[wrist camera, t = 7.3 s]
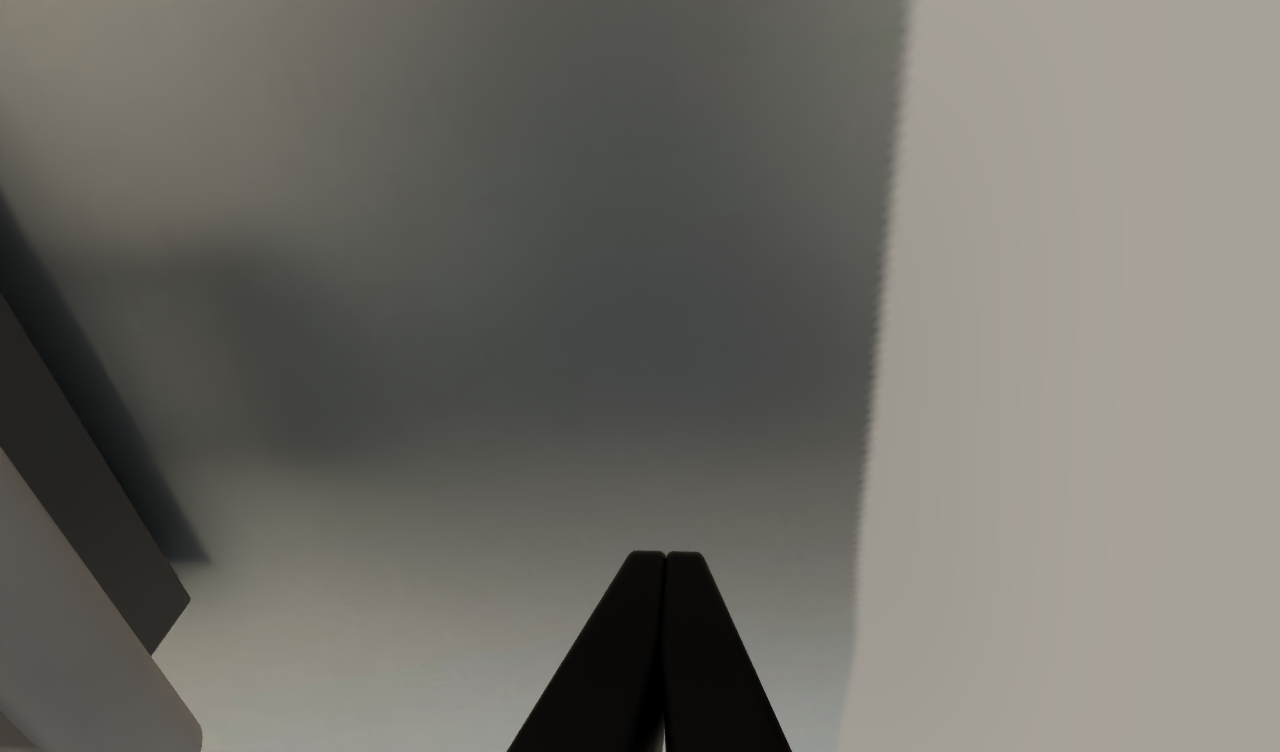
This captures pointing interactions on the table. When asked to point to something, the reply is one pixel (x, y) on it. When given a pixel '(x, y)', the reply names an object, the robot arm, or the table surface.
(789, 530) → the table surface
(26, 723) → the drawer
